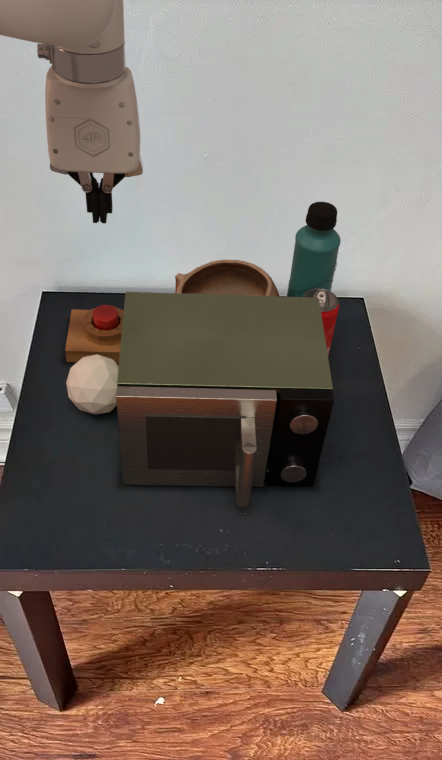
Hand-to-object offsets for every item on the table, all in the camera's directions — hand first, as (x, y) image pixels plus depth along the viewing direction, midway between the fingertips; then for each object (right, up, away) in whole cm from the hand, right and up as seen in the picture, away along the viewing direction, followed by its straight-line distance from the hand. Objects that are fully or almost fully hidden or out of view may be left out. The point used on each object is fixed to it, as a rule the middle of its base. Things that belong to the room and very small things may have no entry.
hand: (100, 216), depth 92 cm
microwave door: (+11, -35, +1) cm, 36 cm away
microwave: (+14, -27, +8) cm, 31 cm away
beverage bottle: (+27, -9, +22) cm, 36 cm away
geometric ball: (-2, -22, +10) cm, 24 cm away
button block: (-2, -12, +18) cm, 22 cm away
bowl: (+15, -11, +20) cm, 27 cm away
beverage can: (+27, -16, +17) cm, 36 cm away
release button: (-2, -10, +15) cm, 18 cm away
